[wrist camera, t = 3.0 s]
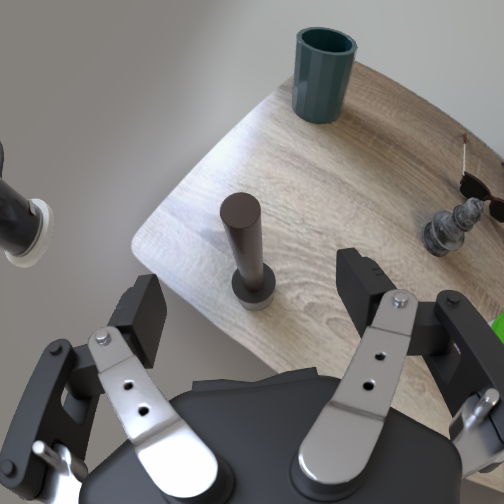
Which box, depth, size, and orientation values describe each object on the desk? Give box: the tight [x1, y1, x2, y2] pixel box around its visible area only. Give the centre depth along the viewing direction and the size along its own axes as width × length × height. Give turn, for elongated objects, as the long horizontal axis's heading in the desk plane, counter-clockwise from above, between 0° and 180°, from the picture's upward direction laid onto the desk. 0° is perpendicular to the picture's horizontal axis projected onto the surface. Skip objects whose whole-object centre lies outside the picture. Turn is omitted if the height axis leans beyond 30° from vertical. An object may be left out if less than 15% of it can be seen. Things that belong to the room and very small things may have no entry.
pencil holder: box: [292, 27, 358, 124], centre depth 38 cm, size 8×8×14 cm
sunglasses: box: [459, 133, 504, 223], centre depth 37 cm, size 14×16×5 cm
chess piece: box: [422, 197, 484, 257], centre depth 30 cm, size 6×6×12 cm
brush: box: [220, 192, 276, 311], centre depth 25 cm, size 4×4×22 cm
